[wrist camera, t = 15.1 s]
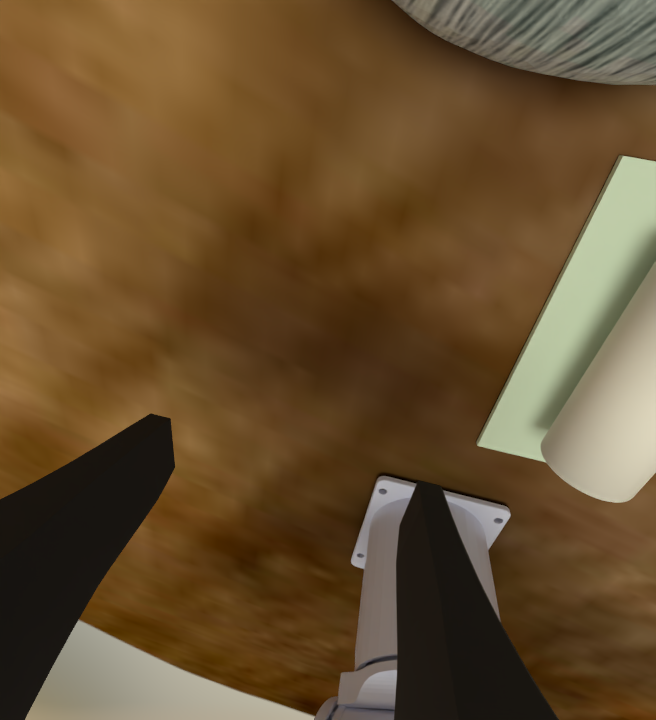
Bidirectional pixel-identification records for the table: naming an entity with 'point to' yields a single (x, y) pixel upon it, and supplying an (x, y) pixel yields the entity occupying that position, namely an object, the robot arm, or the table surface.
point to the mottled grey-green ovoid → (551, 35)
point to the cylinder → (612, 410)
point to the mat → (579, 310)
